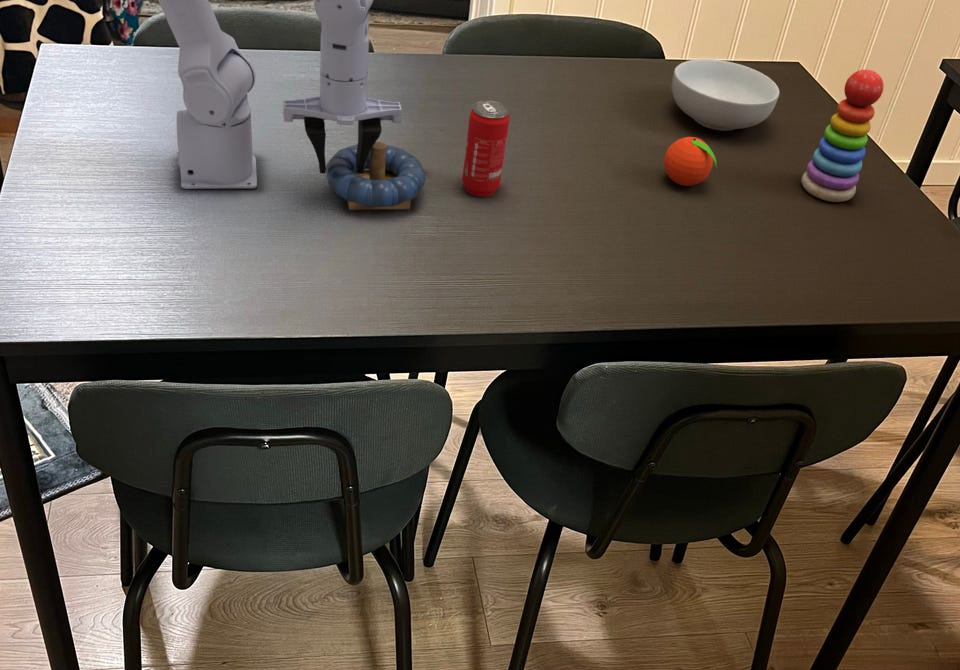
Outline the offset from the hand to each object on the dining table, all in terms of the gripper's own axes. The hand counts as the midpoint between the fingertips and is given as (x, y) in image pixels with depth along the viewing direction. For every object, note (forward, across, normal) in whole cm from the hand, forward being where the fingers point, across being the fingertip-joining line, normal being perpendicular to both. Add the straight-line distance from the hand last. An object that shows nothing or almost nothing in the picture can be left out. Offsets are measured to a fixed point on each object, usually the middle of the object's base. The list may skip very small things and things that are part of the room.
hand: (341, 169), depth 125 cm
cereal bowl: (+4, +63, +22) cm, 67 cm away
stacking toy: (+4, +72, 0) cm, 72 cm away
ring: (+1, +4, 0) cm, 5 cm away
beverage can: (+4, +19, +1) cm, 20 cm away
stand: (+4, +5, 0) cm, 6 cm away
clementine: (+4, +50, +2) cm, 50 cm away
